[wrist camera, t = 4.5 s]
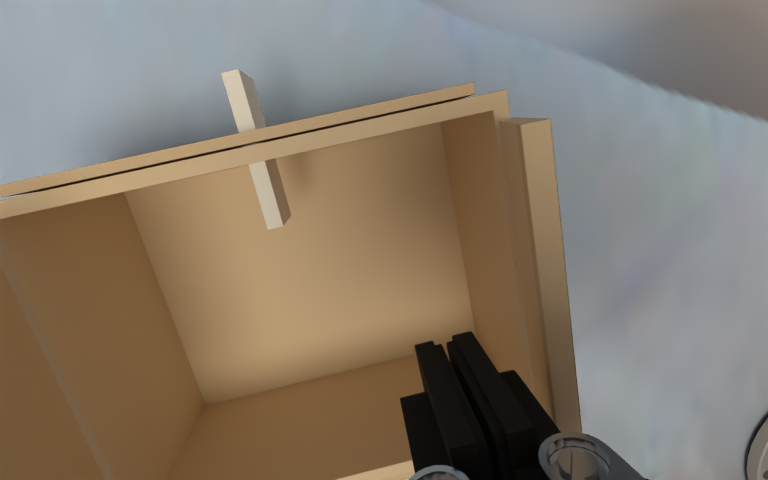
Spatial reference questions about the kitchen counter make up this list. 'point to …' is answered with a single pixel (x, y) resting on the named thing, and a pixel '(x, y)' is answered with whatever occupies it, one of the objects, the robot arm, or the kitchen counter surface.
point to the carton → (271, 285)
